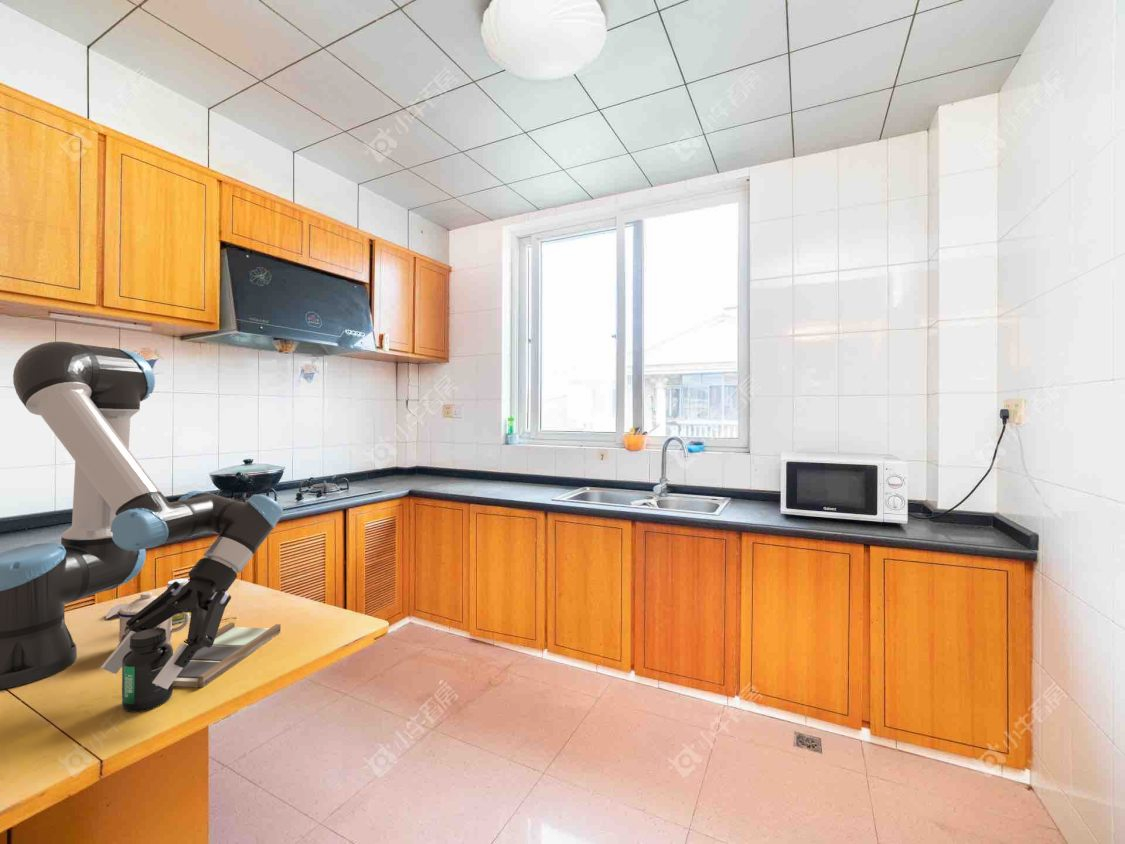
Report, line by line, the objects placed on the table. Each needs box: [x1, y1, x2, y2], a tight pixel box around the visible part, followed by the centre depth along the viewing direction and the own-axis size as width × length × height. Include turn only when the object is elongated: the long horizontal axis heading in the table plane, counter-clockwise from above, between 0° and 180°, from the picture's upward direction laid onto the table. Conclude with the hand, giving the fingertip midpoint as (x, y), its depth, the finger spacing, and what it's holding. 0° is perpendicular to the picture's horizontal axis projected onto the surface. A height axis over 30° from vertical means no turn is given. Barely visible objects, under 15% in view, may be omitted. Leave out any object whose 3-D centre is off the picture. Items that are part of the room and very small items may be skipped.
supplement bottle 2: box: [166, 578, 191, 625], centre depth 121 cm, size 5×5×10 cm
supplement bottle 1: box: [121, 628, 174, 713], centre depth 87 cm, size 7×7×12 cm
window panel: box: [173, 622, 281, 688], centre depth 103 cm, size 12×23×2 cm, turn 177°
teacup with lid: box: [117, 591, 190, 645], centre depth 107 cm, size 12×9×12 cm
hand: (132, 678), depth 84 cm, fingers open, 13 cm apart
